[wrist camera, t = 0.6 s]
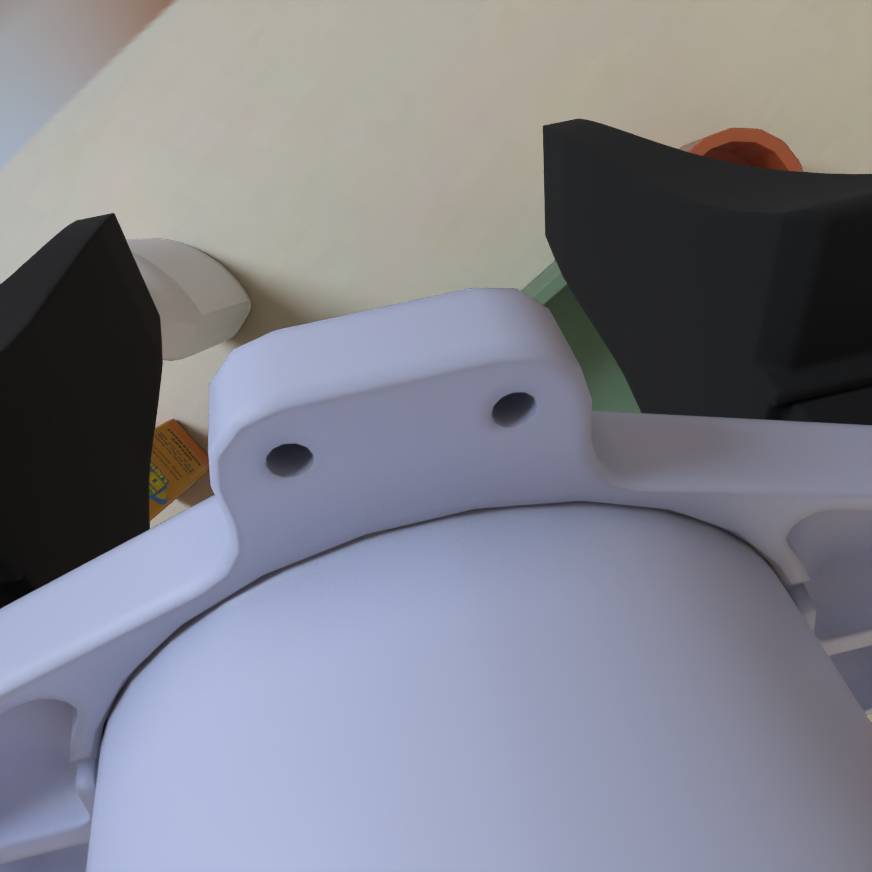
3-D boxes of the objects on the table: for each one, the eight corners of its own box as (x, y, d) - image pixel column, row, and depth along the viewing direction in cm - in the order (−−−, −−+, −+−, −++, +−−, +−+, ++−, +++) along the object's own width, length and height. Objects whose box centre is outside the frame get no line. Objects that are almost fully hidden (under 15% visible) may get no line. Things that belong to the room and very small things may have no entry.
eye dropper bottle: (205, 212, 36) (75, 205, 25) (264, 321, 37) (167, 363, 26) (127, 254, 37) (-35, 268, 25) (188, 360, 38) (60, 419, 26)
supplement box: (221, 461, 39) (137, 537, 30) (173, 500, 40) (76, 588, 30) (176, 410, 39) (75, 472, 29) (128, 451, 39) (14, 525, 30)
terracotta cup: (792, 207, 35) (833, 205, 31) (694, 289, 36) (721, 298, 32) (718, 112, 34) (750, 96, 30) (620, 199, 35) (638, 196, 31)
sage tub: (767, 437, 37) (808, 468, 33) (497, 644, 41) (499, 699, 36) (592, 227, 35) (609, 227, 31) (324, 465, 39) (302, 498, 34)
